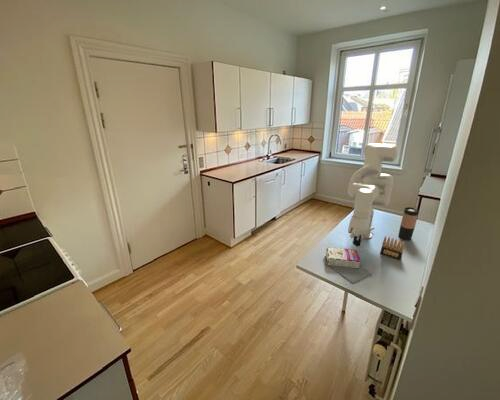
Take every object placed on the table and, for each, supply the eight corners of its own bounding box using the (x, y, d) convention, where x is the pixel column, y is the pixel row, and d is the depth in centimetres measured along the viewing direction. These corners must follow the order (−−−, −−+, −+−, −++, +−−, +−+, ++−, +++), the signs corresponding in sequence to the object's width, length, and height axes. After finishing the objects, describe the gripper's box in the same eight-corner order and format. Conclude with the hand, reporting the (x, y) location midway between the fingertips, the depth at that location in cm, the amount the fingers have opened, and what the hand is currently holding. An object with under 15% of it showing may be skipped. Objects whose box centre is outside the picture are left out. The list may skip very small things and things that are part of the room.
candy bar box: (355, 256, 137) (325, 253, 141) (356, 249, 135) (326, 246, 139) (359, 269, 127) (327, 265, 131) (360, 261, 125) (328, 257, 129)
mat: (344, 256, 139) (345, 255, 139) (372, 274, 124) (372, 273, 124) (326, 263, 133) (326, 262, 133) (352, 283, 118) (352, 282, 118)
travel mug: (398, 239, 155) (405, 211, 147) (397, 233, 161) (403, 206, 154) (412, 241, 152) (420, 213, 145) (410, 235, 159) (417, 208, 151)
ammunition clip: (401, 259, 136) (406, 240, 131) (400, 260, 134) (405, 242, 130) (380, 252, 142) (384, 234, 138) (379, 253, 141) (383, 236, 136)
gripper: (365, 207, 124) (360, 237, 131) (344, 213, 118) (340, 245, 125) (378, 213, 118) (372, 244, 125) (357, 220, 112) (351, 253, 119)
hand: (356, 245), depth 125 cm, fingers closed
